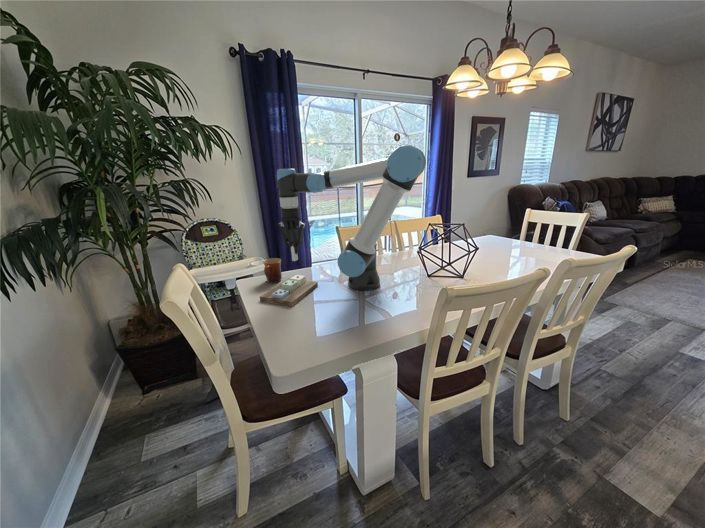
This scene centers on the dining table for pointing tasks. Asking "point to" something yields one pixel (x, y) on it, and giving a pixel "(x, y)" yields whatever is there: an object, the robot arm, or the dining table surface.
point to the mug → (272, 269)
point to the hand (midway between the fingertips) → (295, 260)
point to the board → (292, 297)
